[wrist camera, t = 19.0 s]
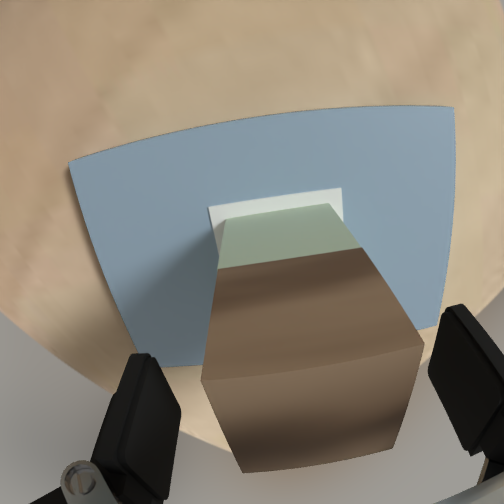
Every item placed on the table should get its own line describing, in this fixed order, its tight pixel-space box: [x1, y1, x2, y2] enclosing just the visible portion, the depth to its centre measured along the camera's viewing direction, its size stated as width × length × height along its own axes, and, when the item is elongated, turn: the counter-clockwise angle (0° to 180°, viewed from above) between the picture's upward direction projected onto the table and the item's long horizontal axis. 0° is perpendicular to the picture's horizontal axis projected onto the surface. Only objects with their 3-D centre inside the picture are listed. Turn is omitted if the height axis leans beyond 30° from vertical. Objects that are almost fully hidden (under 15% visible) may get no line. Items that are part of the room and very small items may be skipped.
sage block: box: [217, 203, 361, 272], centre depth 14 cm, size 5×5×5 cm
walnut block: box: [201, 247, 425, 473], centre depth 10 cm, size 5×5×5 cm
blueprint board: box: [68, 105, 456, 367], centre depth 17 cm, size 14×20×1 cm
